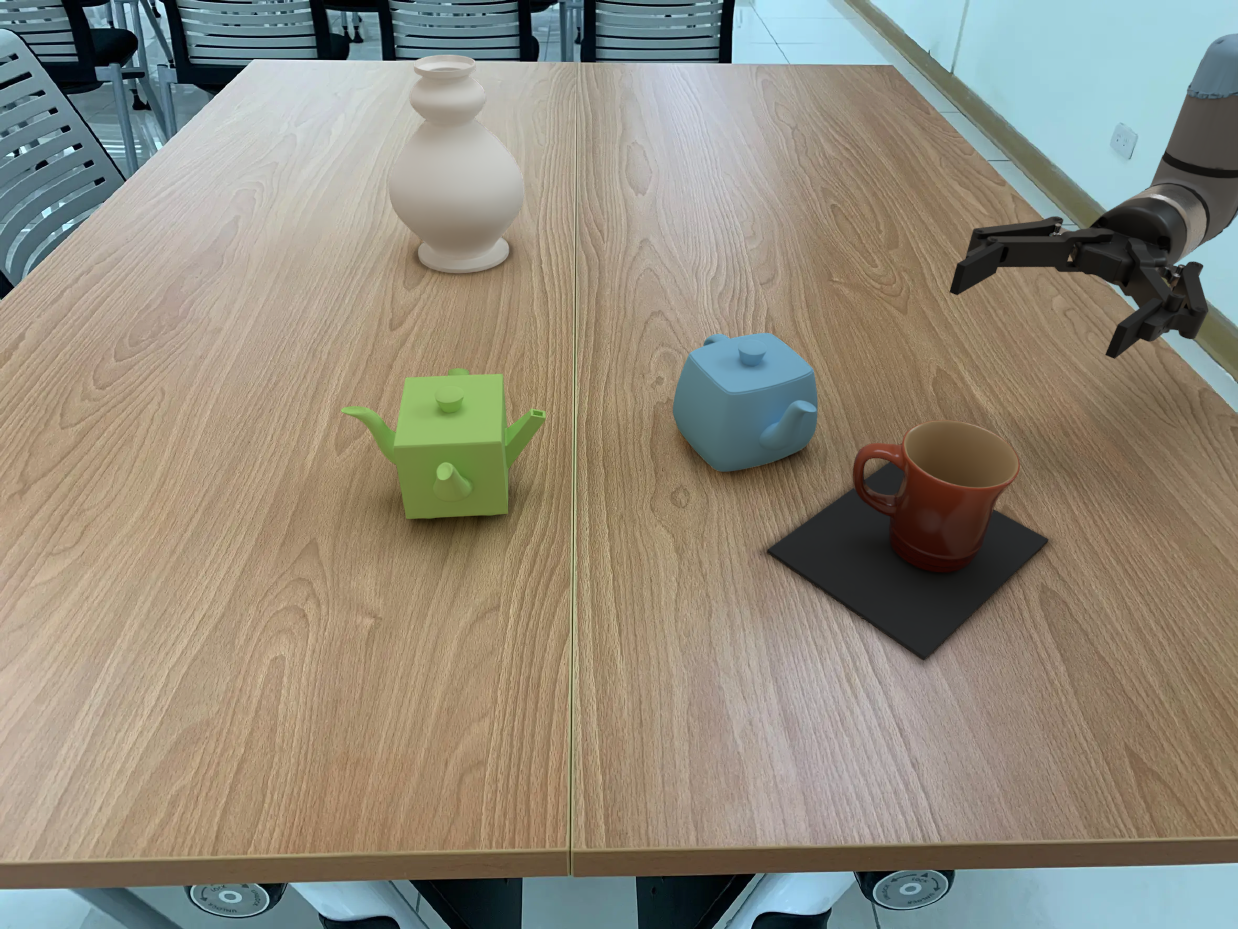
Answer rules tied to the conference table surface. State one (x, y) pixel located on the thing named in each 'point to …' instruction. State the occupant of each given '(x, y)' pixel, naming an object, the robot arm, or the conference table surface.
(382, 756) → the conference table surface
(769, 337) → the teapot
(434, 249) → the decorative vase
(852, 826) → the conference table surface
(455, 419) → the kettle
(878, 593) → the front mat
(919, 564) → the mug
